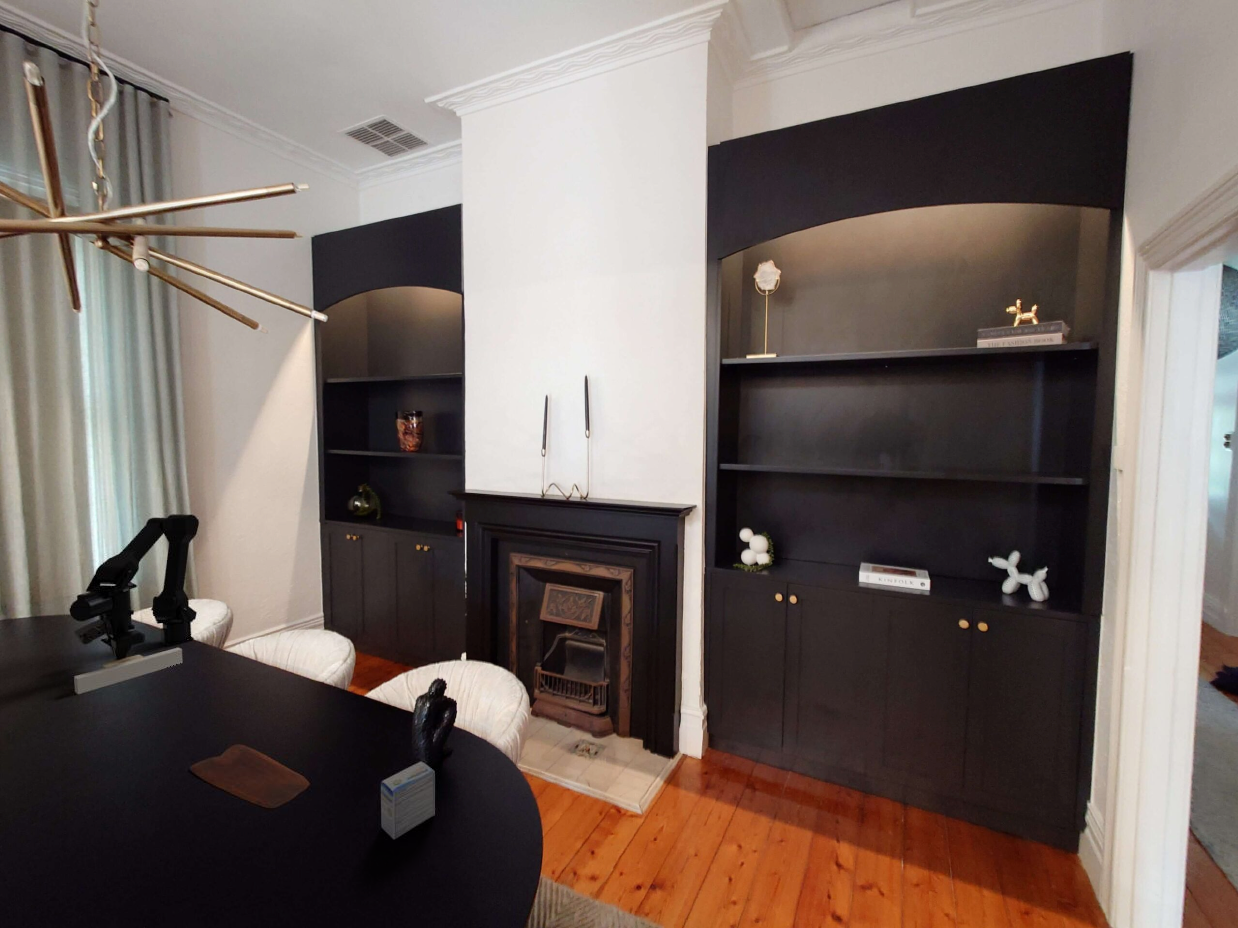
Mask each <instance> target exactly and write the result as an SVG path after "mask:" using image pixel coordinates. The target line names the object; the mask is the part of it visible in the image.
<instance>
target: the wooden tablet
mask: <svg viewBox="0 0 1238 928" xmlns="http://www.w3.org/2000/svg"><path fill="white" fill-rule="evenodd" d="M189 771H191V773H193V774H194V775H196V776H197V777H199V778H200V779H202V780H203V781H205V782H207V783H209V784H210V785H213V786H214V787H217V788H218V789H221V790H224V791H225V792H227V793H229V794H231V795H233V796H236V797H238V798H240V799H243V800H244V801H248V802H249V803H252V804H255V805H257V806H260V807H263V808H267V809H276V808H278V807H279V806H282V805H284V804H285V803H287V802H289V801H291V800H293V799H294V798H295V797H297V795H298V794H300V793H302V792H304V791H305V790H306V789H307V788H308V787H309V786H310V785H311V784H310V781H308V779H307V778H306V777H305V776H303V775H301V774H299V773H298V772H295V771H293V770H292V769H290V768H288V767H286V766H285V765H283V764H281V763H280V762H278V761H277V760H274V759H272V758H271V757H269V756H268V755H265V754H263V753H262V752H260V751H258V750H255V749H253V748H251V747H248V746H246V745H244V744H238V743H237V744H234V745H232V746H230V747H229V748H228V749H226V750H225V751H223V753H222V754H221V755H220V756H213V757H209V758H206V759H203V760H201V761H198V762H197V763H195V764H193V765H191V766H190V767H189Z"/></svg>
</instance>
